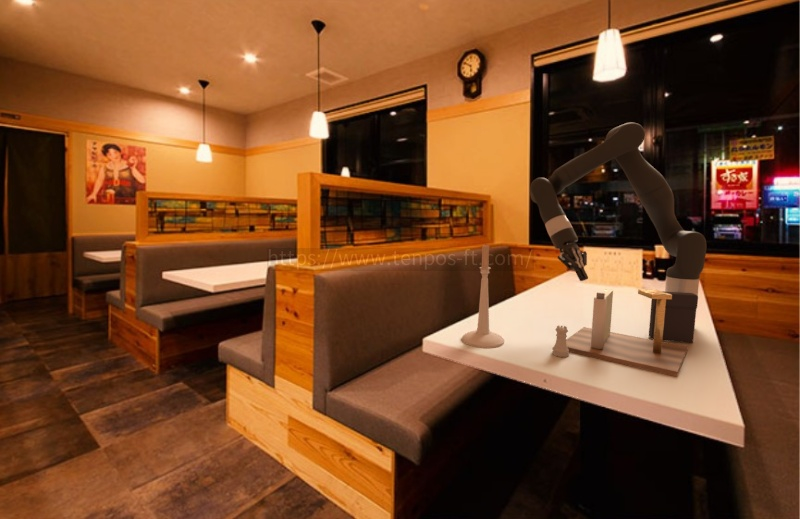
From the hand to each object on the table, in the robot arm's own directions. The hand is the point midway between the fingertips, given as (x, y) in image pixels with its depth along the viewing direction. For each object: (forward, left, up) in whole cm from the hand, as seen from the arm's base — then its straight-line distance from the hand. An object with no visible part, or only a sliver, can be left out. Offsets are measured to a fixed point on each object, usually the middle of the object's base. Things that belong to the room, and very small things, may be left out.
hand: (584, 279), depth 120 cm
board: (+5, +13, -18) cm, 23 cm away
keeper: (+3, +19, -18) cm, 27 cm away
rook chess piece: (+21, +1, -18) cm, 28 cm away
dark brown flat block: (-15, +22, -18) cm, 32 cm away
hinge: (+5, +7, -17) cm, 19 cm away
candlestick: (+25, -21, -19) cm, 38 cm away
